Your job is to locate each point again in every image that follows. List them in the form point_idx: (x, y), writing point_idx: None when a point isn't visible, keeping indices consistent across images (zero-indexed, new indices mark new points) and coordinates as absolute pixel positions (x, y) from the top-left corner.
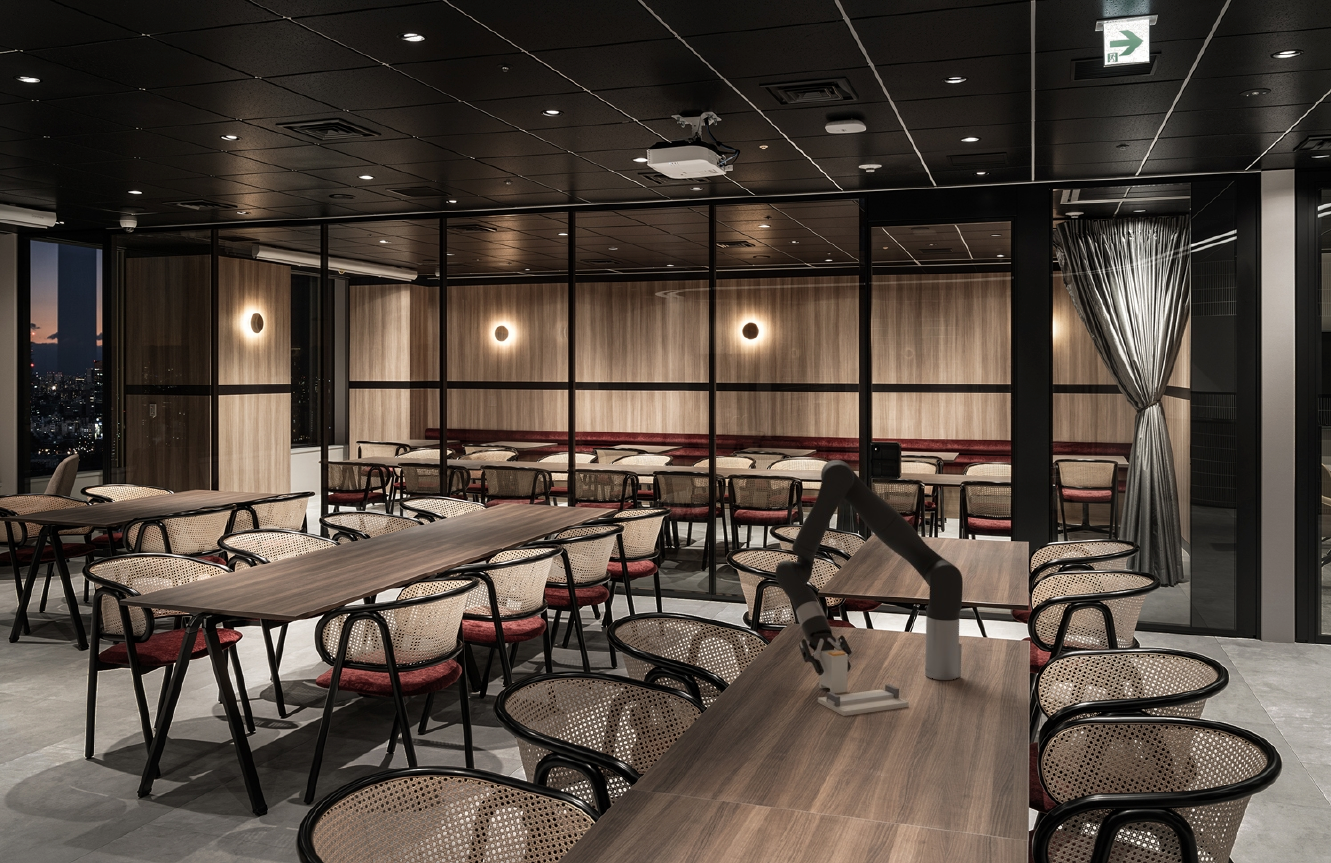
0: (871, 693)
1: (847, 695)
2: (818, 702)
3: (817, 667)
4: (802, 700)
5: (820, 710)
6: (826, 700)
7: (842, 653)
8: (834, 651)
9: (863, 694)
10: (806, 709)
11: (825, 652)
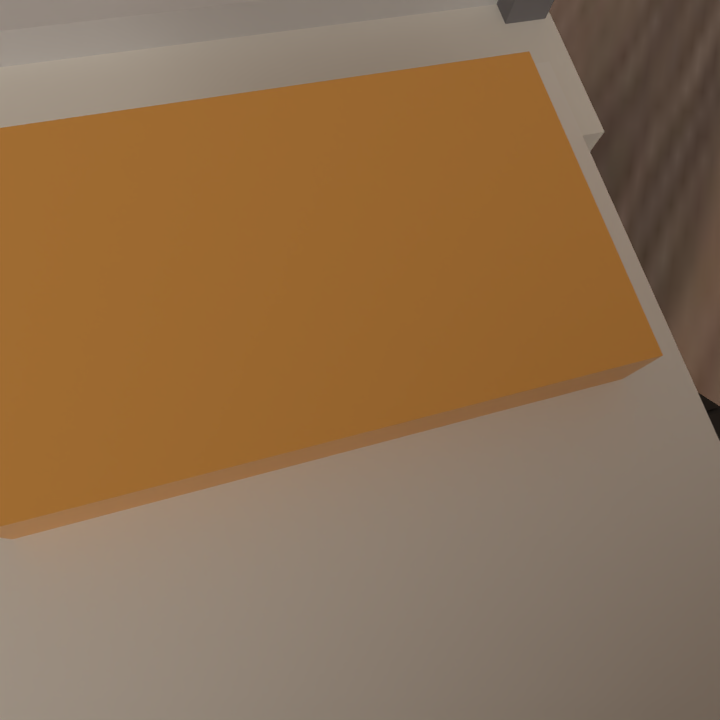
0: (13, 17)
1: None
2: None
3: (713, 411)
4: (710, 256)
5: (591, 3)
6: (537, 50)
7: (109, 118)
8: (360, 414)
9: (127, 8)
10: (699, 43)
11: (698, 614)
